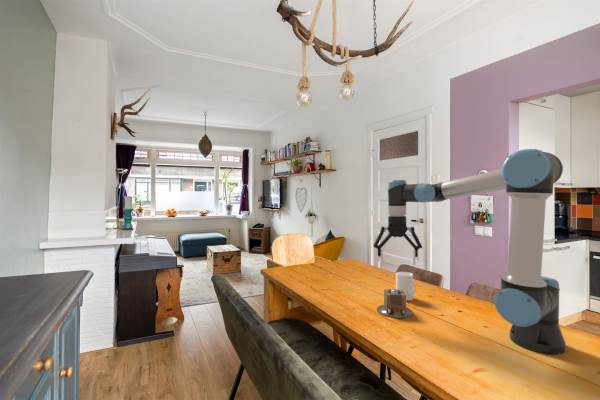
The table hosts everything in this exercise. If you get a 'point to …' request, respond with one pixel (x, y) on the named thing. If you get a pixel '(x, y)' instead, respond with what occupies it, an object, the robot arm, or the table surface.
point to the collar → (395, 302)
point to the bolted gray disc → (383, 311)
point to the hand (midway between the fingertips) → (397, 264)
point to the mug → (405, 284)
